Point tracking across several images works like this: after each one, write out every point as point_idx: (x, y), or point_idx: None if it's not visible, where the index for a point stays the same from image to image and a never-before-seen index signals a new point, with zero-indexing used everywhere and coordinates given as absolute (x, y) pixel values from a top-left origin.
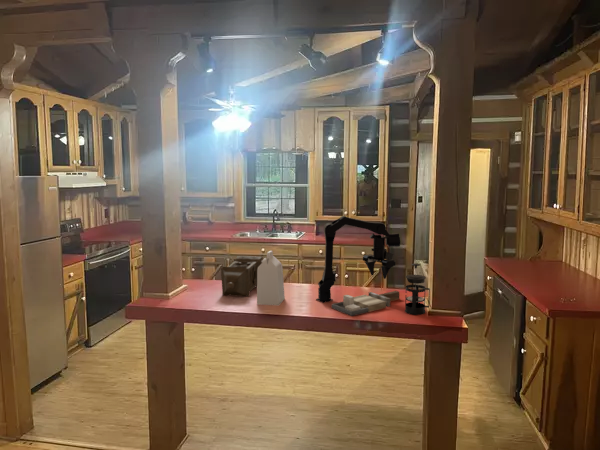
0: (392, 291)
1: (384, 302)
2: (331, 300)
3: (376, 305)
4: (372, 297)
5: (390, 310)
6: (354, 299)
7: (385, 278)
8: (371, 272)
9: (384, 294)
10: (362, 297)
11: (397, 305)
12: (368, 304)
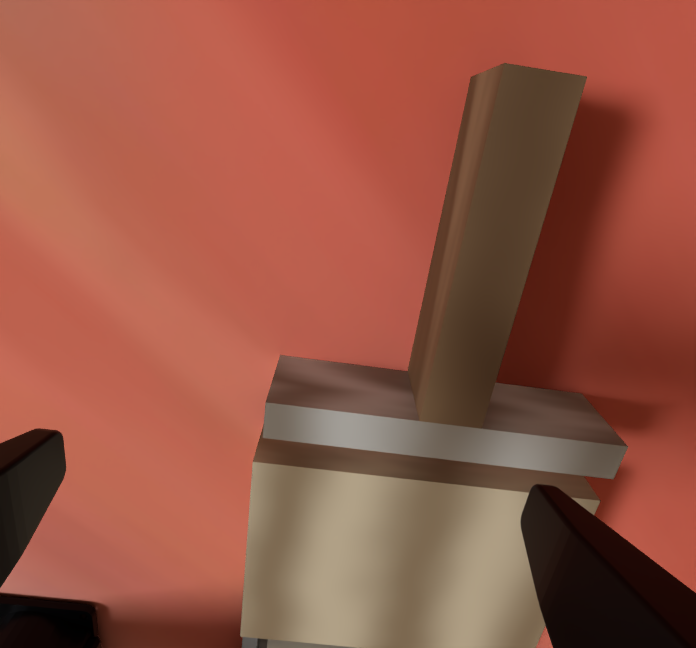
0: (483, 158)
1: (590, 510)
2: (94, 623)
3: None
4: (392, 484)
5: (646, 482)
6: (307, 627)
7: (551, 492)
8: (16, 548)
9: (477, 370)
10: (314, 548)
11: (638, 324)
12: (505, 643)
